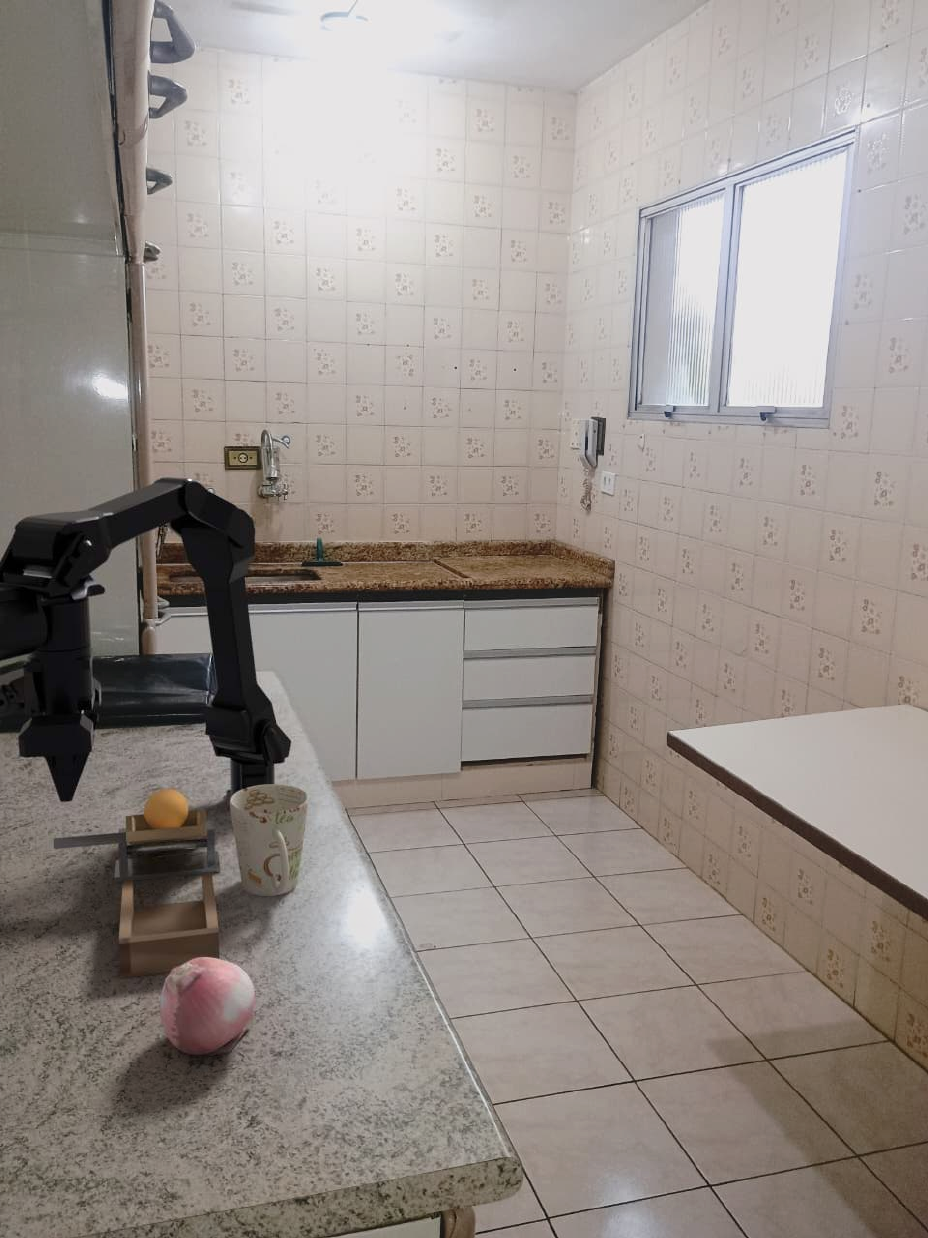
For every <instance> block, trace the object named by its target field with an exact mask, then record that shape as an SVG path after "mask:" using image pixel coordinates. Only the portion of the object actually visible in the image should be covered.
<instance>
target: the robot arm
mask: <svg viewBox="0 0 928 1238" xmlns="http://www.w3.org/2000/svg"><path fill="white" fill-rule="evenodd" d="M164 525H166V527H167V528H168V529H169V530H171V531H172V532H173V533H174V534H176V536H178V537H179V538H181V539H180V540H181V542H182V546H183V549H184V553H185V557H186V560H187V562H188V563H189V564H190V566H191V567H192V569H193V570H194V571H195V572H196V574H197V575H198V577H199V579H201V581H202V583H203V584H202V585H203V590H204V591H203V592H204V599H205V606H206V612H207V613H206V614H207V621H208V629H209V636H210V642H211V651H212V657H213V658H212V659H213V666H214V672H215V682H216V692H215V694H214V695H213V697H212V700H211V701H210V703H209V704H208V705H205V706H203V711H202V714H203V718H204V722H205V723H204V724H205V731H204V735H205V736H208V738H209V741H210V743H211V745H212V748H213V751H214V755H215V757H218V758H226V759H229V761H230V762H229V763H230V764H229V765H230V766H229V768H230V789H227V790H226V792H225V793H226V798H227V799H226V800H227V805H228V810H229V811H230V799H231V797H232V796H233V795H234V794H235V793H236V792H238V791H240V790H242V789H245V788H248V787H253V786H258V785H267V784H276V783H275V780H276V779H275V777H276V776H275V775H276V774H275V773H276V772H275V770H276V769H275V765H278V764H284V763H285V762H286V760H285V759H287V758H288V757H289V756H290V751H291V745H292V740H291V739H290V738H289V736H288V735H287V734H286V733H285V732H284V731H283V729H282V728H281V727H280V726H279V725H278V723H277V720H276V715H275V711H274V707H273V702H272V701H271V700H270V699H269V697H268V695H266V694H265V692H264V691H263V689H262V688H261V686H260V685H259V683H258V679H257V672H256V671H257V670H256V669H257V668H256V662H255V661H256V660H255V654H254V646H253V644H254V643H253V637H252V635H253V634H252V628H251V620H250V611H249V603H248V595H247V586H246V585H247V584H246V575H247V572H248V570H249V568H250V566H251V565H252V563H253V560H254V559H255V558H254V557H255V556H256V528H255V523H254V519H253V516H252V515H251V514H250V515H249V514H248V512H247V511H246V510H245V509H243V508H239V507H238V506H237V505H235V504H234V503H233V502H230V501H228V500H227V499H224V498H223V497H220V496H218V495H217V494H215V493H213V492H211V491H210V490H208V489H207V488H206V487H204V485H203V484H202V483H200V482H198V481H196V480H194V479H192V478H183V477H171V476H170V477H169V476H167V477H161V478H158V479H156V480H155V481H153V483H151V484H148V485H146V486H144V487H141V488H139V489H136V490H133V491H131V492H127V493H126V494H124V495H120V496H118V497H116V498H113V499H110V500H108V501H105V502H103V503H100V504H98V505H96V506H93V507H89V508H87V509H84V510H78V511H64V512H63V511H61V512H60V511H59V512H49V513H42V514H36V515H29V516H26V517H24V518H22V519H21V520H20V521H18V522H17V523H16V525H15V526H14V533H13V535H12V537H11V540H10V541H9V543H8V546H7V547H6V550H5V551H4V554H3V555H2V557H1V559H0V662H2V661H6V660H7V661H8V660H10V659H13V658H18V657H21V656H26V655H27V660H26V661H24V663H23V665H22V666H23V667H22V668H20V669H15V670H13V671H10V672H7V673H4V674H2V675H0V718H3V717H5V716H7V715H10V714H13V713H15V712H18V711H20V710H22V709H24V714H25V715H27V716H29V715H32V717H30V718H29V719H28V720H27V721H26V722H25V723H24V724H23V725H22V728H21V729H20V732H19V734H18V753H19V757H21V758H25V759H26V758H42V757H43V759H45V761H46V763H47V766H48V769H49V772H50V775H51V778H52V780H53V783H54V787H55V790H56V793H57V796H58V799H59V802H62V803H67V802H68V803H69V802H72V801H73V800H74V796H75V793H76V790H77V788H78V786H79V782H80V780H81V777H82V775H83V772H84V769H85V766H86V764H87V761H88V759H89V756H90V753H92V751H93V747H94V742H95V737H96V735H95V734H94V733H95V731H96V728H97V724H98V721H99V713H98V712H84V711H92V710H93V708H94V707H100V706H101V704H102V688H101V686H102V685H101V682H100V681H99V680H97V679H96V678H95V677H94V676H93V659H94V648H92V639H91V637H92V635H91V620H90V619H91V617H90V615H91V614H90V598H91V597H96V596H100V595H104V594H105V593H106V588H105V587H104V586H103V585H102V584H100V583H99V582H98V581H97V580H95V579H94V578H93V577H92V576H91V574H92V573H93V572H95V571H96V570H97V569H98V568H100V567H102V566H103V565H104V564H105V563H106V562H107V561H108V560H109V558H110V556H111V553H112V551H113V550H115V549H116V548H117V547H118V546H120V545H123V544H124V543H127V542H129V541H131V540H134V539H135V538H138V537H141V536H143V535H145V534H146V533H148V532H149V533H150V532H151V531H154V530H156V529H158V528H160V527H162V526H164ZM25 573H26V574H25ZM93 706H94V707H93ZM41 713H43V715H39V714H41ZM33 715H34V716H33Z"/></svg>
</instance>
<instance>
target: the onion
mask: <svg viewBox="0 0 928 1238" xmlns="http://www.w3.org/2000/svg"><path fill="white" fill-rule="evenodd" d="M255 992H256V991H255V987H254V984H253V982H252V980H251V978H250V976H249V974H248V973H247V972H245V971H244V969H243V968H241V967H239V966H238V965H236V964H235V963H232V962H231V961H230V962H229V961H227V960H223V959H220V958H219V959H217V958H210V957H199V958H195V959H192V960H190V961H188V962H186V963H184V964H183V965H180V966H179V967H176V968H174V969H173V970H172V971H171V972H169V974H168V976H167V977H165V979H164V983H163V987H162V990H161V995H160V997H159V1016H160V1021H161V1024H162V1027H163V1029H164V1032H165V1034H166V1037H167V1039H168V1040H169V1041H170V1042H171V1044H172V1045H173V1046H174V1047H175V1048H177V1049H178V1050H179V1051H181V1052H182V1053H186V1054H189V1055H192V1056H195V1057H197V1058H204V1057H205V1058H206V1057H210V1056H217V1055H222V1054H229V1053H231V1051H232V1049H234V1047H235V1045H236V1044H237V1043H238V1041H239V1040H240V1039H241V1037H242V1036H243V1035H244V1033H245V1032H246V1030H247V1029H248V1028H249V1026H250V1025H251V1024H252V1022H253V1021H254V1020H255V1018H256V1017H255V1016H254V1014H253V1012H254V1007H255V1003H256V993H255Z"/></svg>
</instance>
